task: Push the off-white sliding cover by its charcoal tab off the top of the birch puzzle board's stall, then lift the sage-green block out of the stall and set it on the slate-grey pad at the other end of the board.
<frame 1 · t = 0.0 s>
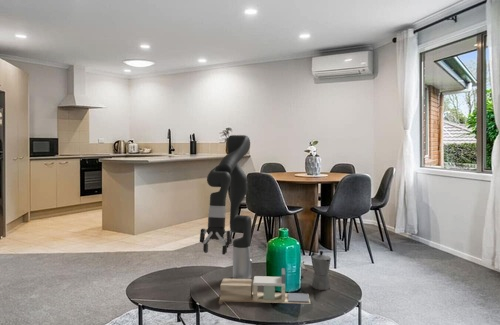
hand: (214, 253, 174), 22 cm above the table, tool pointing down, fingers open, 8 cm apart
game die: (298, 276, 213), on the table
slide cover: (269, 276, 178), point 11 cm above the table, slide at 0.0 cm
coffeepot: (319, 286, 198), on the table
slate pad: (298, 301, 178), resting on puzzle board
puzzle board: (269, 300, 179), on the table
sage block: (269, 297, 179), point 1 cm above the table, touching puzzle board
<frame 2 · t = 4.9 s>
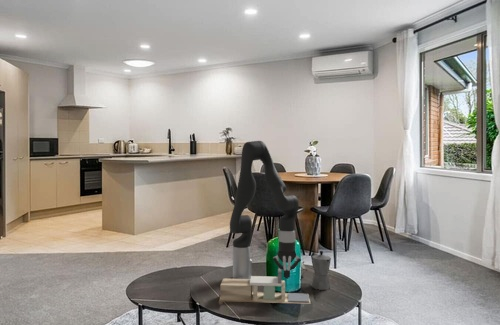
hand: (286, 278, 178), 10 cm above the table, tool pointing down, fingers closed
slide cover: (265, 276, 178), point 11 cm above the table, slide at 1.6 cm, touching gripper
everything else where it was.
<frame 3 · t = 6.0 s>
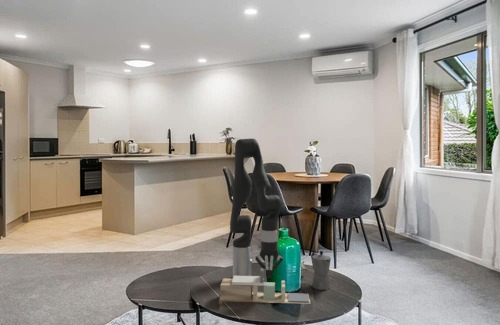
hand: (269, 277, 179), 10 cm above the table, tool pointing down, fingers closed
slide cover: (248, 276, 179), point 11 cm above the table, slide at 9.5 cm, touching gripper
everything else where it was.
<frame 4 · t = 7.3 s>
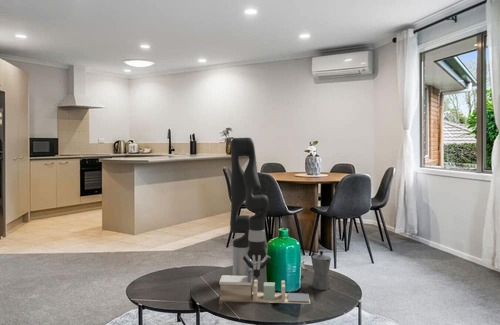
hand: (256, 277, 179), 10 cm above the table, tool pointing down, fingers closed
slide cover: (236, 275, 179), point 11 cm above the table, slide at 15.0 cm, touching gripper
everything else where it was.
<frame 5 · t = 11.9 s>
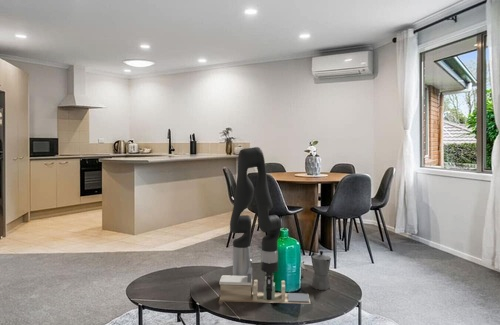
hand: (269, 297, 179), 2 cm above the table, tool pointing down, fingers closed on sage block, 5 cm apart
slide cover: (236, 275, 179), point 11 cm above the table, slide at 15.0 cm
sage block: (269, 297, 179), point 1 cm above the table, touching gripper, puzzle board
everything else where it was.
when the fingers open (4 cm above the table, at t = 18.8 s): sage block drops 1 cm, resting on slate pad.
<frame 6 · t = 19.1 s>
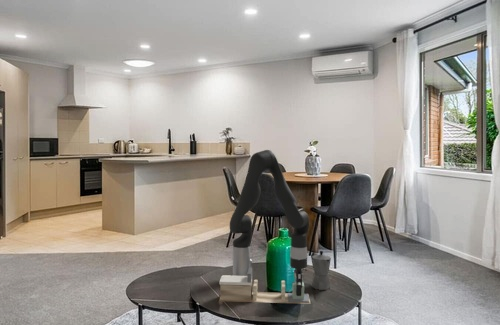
hand: (298, 292, 178), 4 cm above the table, tool pointing down, fingers open, 7 cm apart
sage block: (298, 297, 178), point 2 cm above the table, touching slate pad
everything else where it was.
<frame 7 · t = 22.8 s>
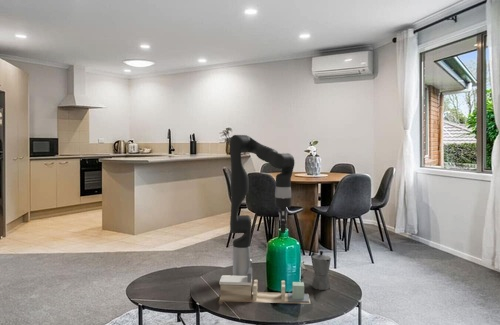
hand: (282, 230, 185), 30 cm above the table, tool pointing down, fingers open, 8 cm apart
nothing on the table moved.
at the end: slide cover slide at 15.0 cm; sage block 0.0 cm off-centre on the slate pad, point 2.0 cm above the slate pad's base; sage block tilted 0° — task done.
